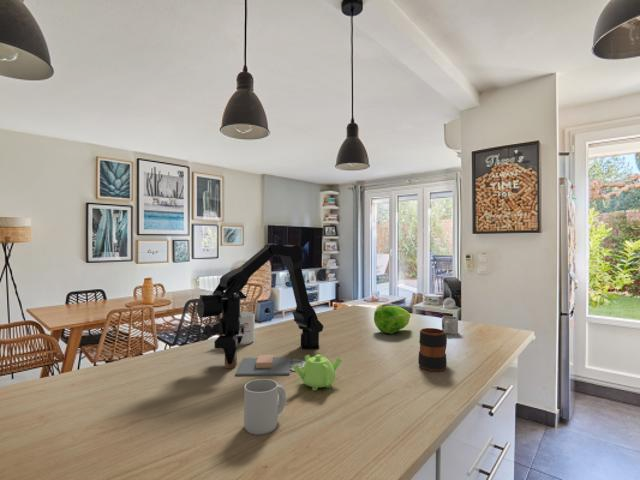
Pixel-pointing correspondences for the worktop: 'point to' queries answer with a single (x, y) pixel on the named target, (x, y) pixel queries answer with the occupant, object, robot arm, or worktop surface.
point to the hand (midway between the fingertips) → (230, 362)
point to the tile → (265, 361)
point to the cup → (262, 405)
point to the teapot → (317, 371)
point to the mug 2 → (432, 349)
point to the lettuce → (391, 318)
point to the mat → (249, 368)
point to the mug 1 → (247, 327)
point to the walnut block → (232, 362)
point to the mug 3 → (450, 325)
